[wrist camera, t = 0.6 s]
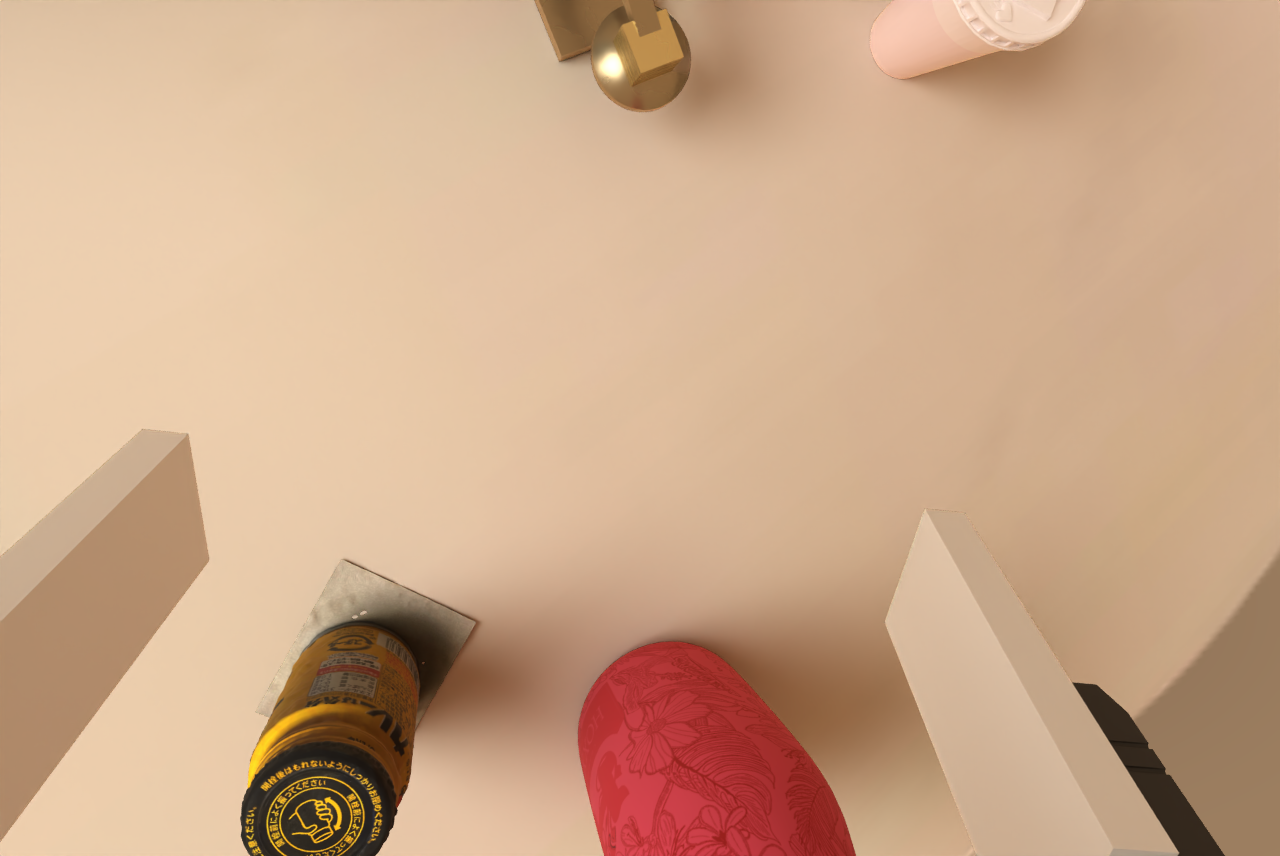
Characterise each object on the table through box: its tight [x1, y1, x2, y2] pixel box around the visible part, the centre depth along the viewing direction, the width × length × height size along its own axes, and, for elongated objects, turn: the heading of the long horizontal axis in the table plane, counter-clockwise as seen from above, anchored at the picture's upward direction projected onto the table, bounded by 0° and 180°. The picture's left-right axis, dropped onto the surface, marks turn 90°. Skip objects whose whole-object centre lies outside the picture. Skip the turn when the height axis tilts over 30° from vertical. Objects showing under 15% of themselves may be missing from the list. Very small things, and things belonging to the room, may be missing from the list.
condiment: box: [240, 559, 476, 856], centre depth 34 cm, size 7×8×12 cm
